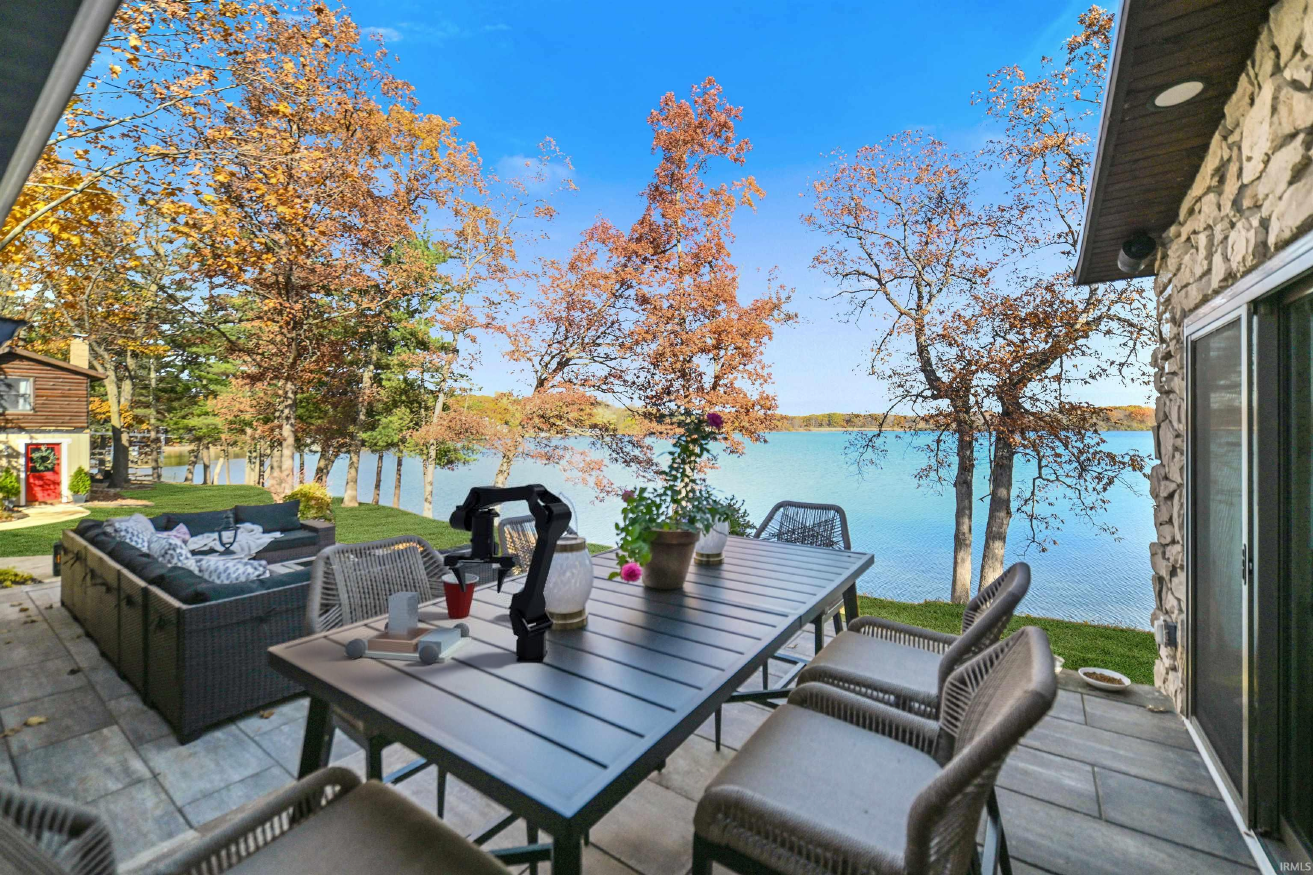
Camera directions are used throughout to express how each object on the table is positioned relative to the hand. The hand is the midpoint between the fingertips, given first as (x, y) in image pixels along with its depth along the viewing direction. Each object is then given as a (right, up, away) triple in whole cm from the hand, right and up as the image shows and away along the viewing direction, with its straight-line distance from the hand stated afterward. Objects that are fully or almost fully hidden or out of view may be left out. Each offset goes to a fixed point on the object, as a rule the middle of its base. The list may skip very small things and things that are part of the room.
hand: (481, 592), depth 149 cm
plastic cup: (-13, -13, +21) cm, 28 cm away
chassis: (-16, -13, -6) cm, 21 cm away
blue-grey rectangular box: (-18, -11, -6) cm, 22 cm away
